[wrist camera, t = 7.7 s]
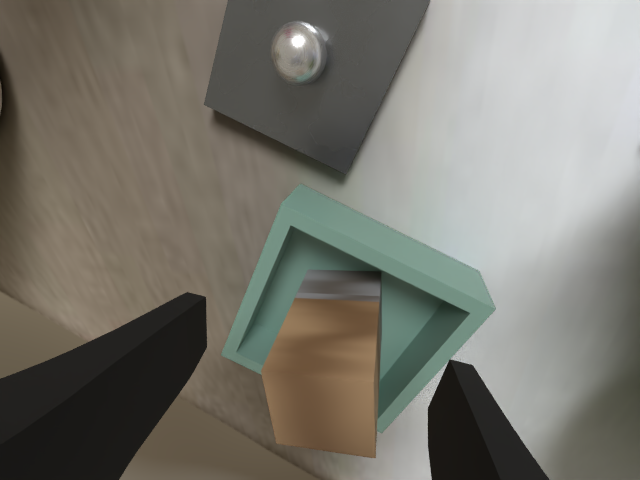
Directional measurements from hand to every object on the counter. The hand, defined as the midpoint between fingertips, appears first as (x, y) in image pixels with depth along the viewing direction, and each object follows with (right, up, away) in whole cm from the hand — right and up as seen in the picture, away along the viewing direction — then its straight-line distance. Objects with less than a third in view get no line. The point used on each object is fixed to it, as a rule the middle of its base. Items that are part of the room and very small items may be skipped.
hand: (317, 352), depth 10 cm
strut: (+2, 0, +11) cm, 11 cm away
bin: (+2, 0, +11) cm, 12 cm away
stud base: (0, +12, +6) cm, 13 cm away
